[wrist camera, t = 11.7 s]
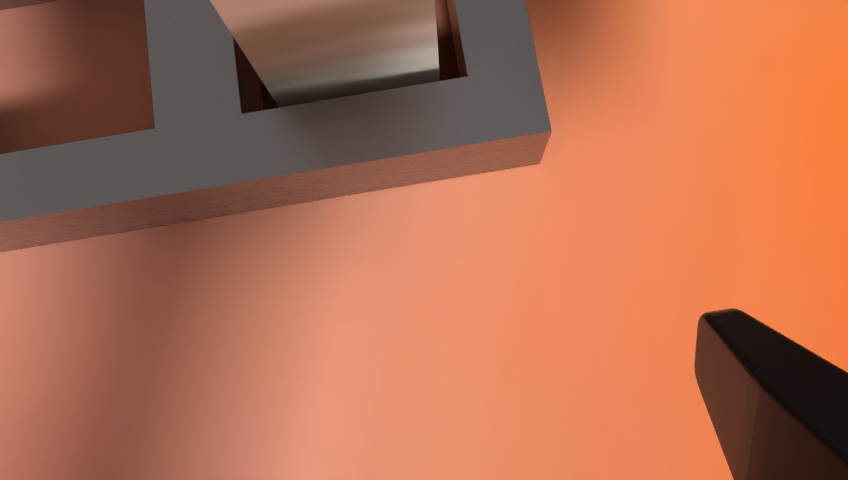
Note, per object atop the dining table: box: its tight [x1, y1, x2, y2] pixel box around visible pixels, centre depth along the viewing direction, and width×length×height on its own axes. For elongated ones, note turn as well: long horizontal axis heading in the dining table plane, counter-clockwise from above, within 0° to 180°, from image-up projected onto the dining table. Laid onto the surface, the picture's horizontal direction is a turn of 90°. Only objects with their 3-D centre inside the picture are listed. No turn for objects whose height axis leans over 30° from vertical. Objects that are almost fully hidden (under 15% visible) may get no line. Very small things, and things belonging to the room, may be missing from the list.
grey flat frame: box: [0, 0, 551, 252], centre depth 23 cm, size 10×20×3 cm, turn 99°
